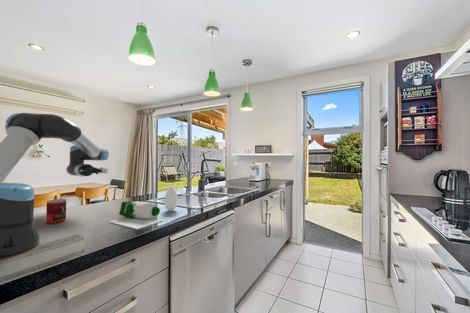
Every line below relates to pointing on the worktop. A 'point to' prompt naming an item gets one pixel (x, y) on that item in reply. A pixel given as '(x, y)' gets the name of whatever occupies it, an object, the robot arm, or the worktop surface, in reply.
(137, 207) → the soya milk
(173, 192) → the sauce bottle
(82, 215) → the worktop surface
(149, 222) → the mat
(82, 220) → the worktop surface
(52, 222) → the canned food
